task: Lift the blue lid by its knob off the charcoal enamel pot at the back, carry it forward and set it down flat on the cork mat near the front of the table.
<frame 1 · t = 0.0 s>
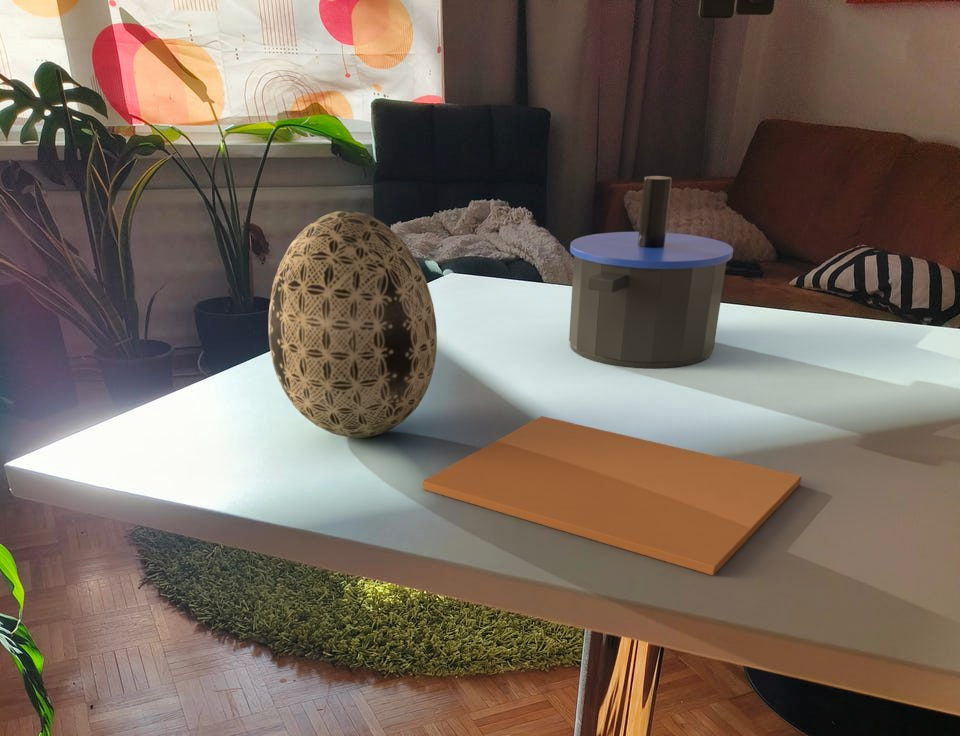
hand: (733, 16, 78), 26 cm above the table, tool pointing down, fingers open, 9 cm apart
blue lid: (650, 252, 81), point 8 cm above the table, touching pot
decorative egg: (360, 435, 67), on the table
cork mat: (612, 486, 58), on the table
pot: (640, 347, 86), on the table
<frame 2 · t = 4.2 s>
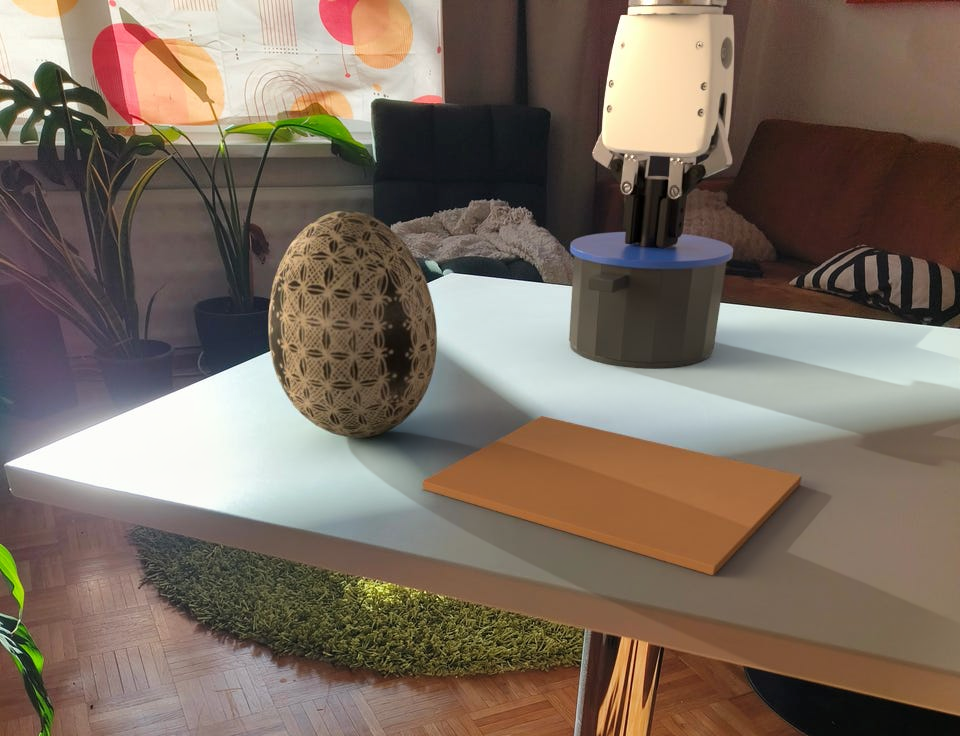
hand: (651, 242, 81), 9 cm above the table, tool pointing down, fingers closed on blue lid, 2 cm apart
blue lid: (650, 252, 81), point 9 cm above the table, touching gripper, pot
everything else where it was.
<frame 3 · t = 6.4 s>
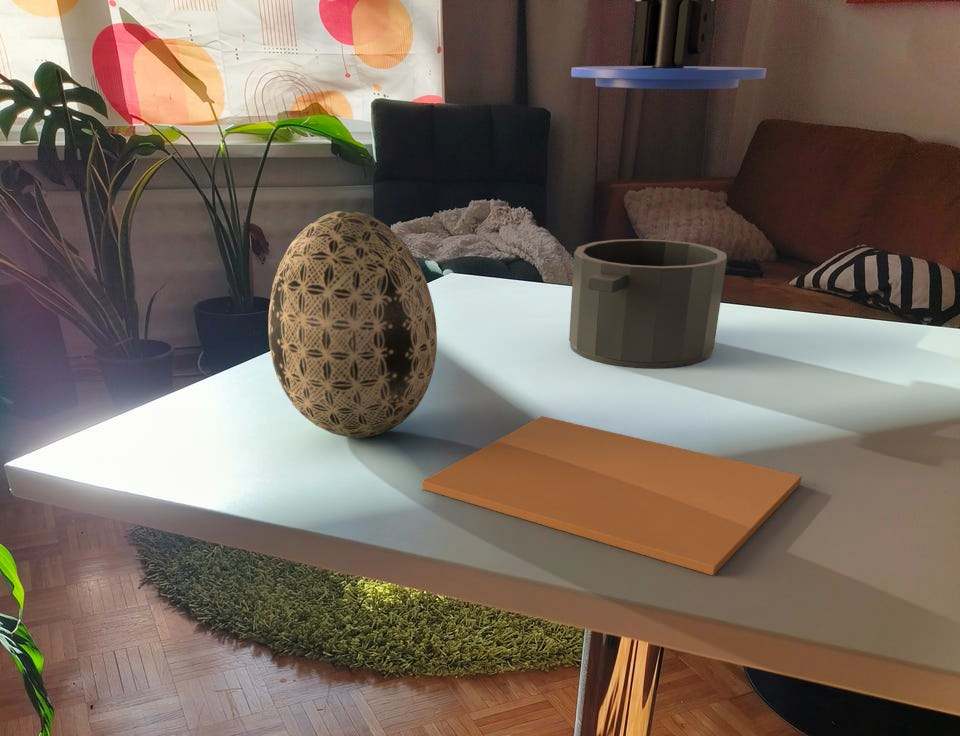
hand: (668, 63, 68), 23 cm above the table, tool pointing down, fingers closed on blue lid, 2 cm apart
blue lid: (666, 77, 68), point 22 cm above the table, touching gripper
everything else where it was.
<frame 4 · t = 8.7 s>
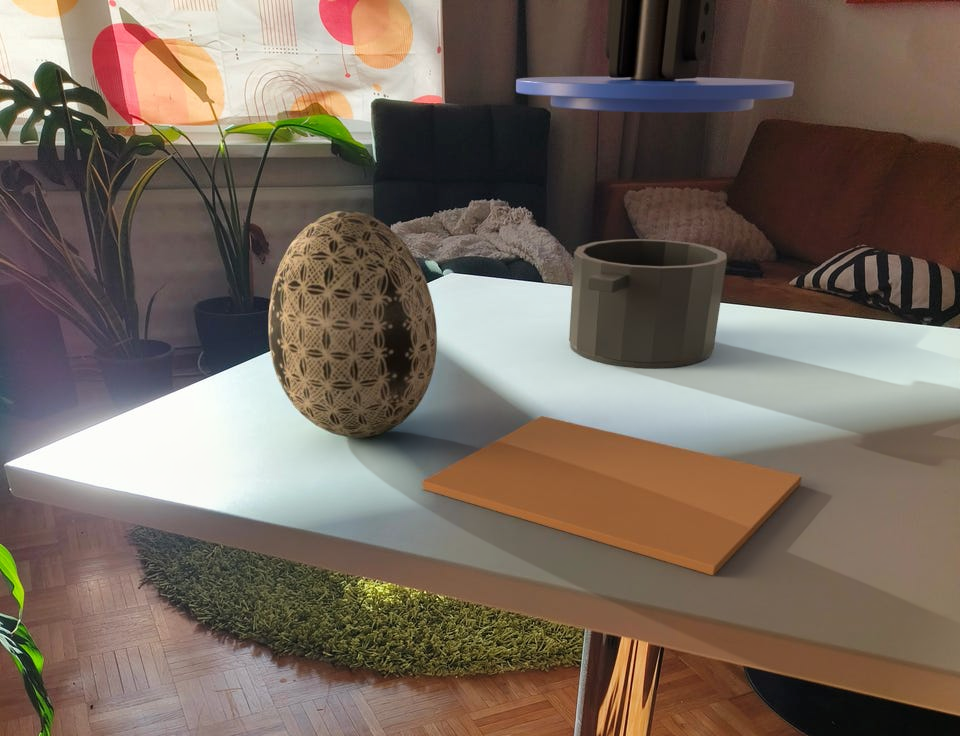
hand: (653, 74, 47), 23 cm above the table, tool pointing down, fingers closed on blue lid, 2 cm apart
blue lid: (651, 93, 48), point 22 cm above the table, touching gripper
everything else where it was.
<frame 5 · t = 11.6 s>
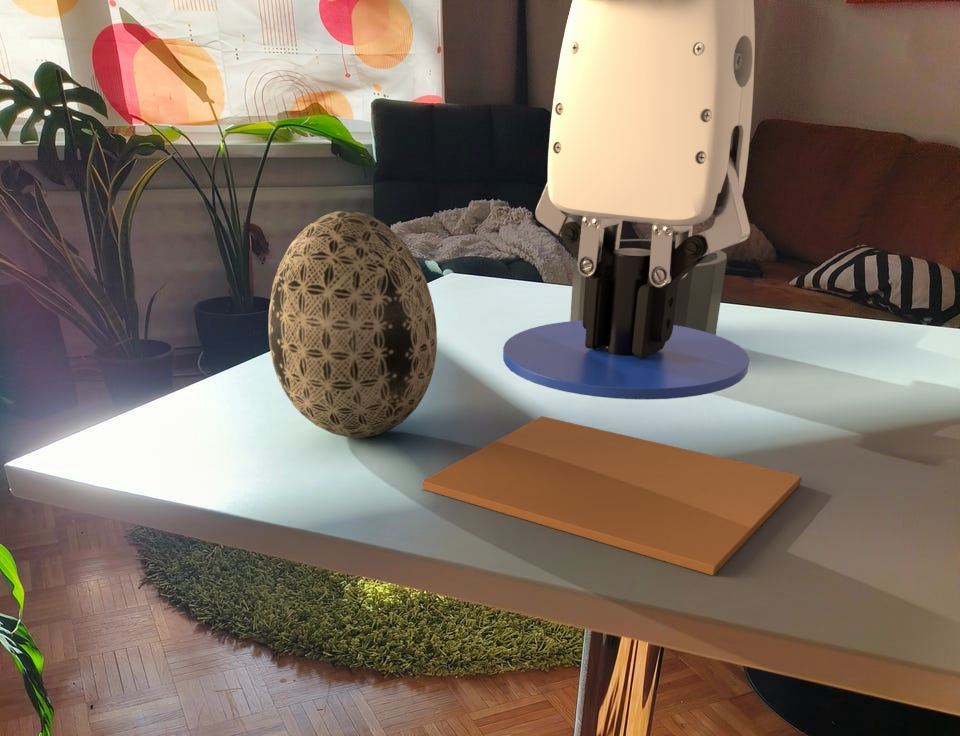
hand: (625, 345, 53), 9 cm above the table, tool pointing down, fingers closed on blue lid, 2 cm apart
blue lid: (623, 360, 54), point 8 cm above the table, touching gripper
everything else where it was.
when the fingers open (2 cm above the table, at t = 13.4 s): blue lid stays where it is, resting on cork mat.
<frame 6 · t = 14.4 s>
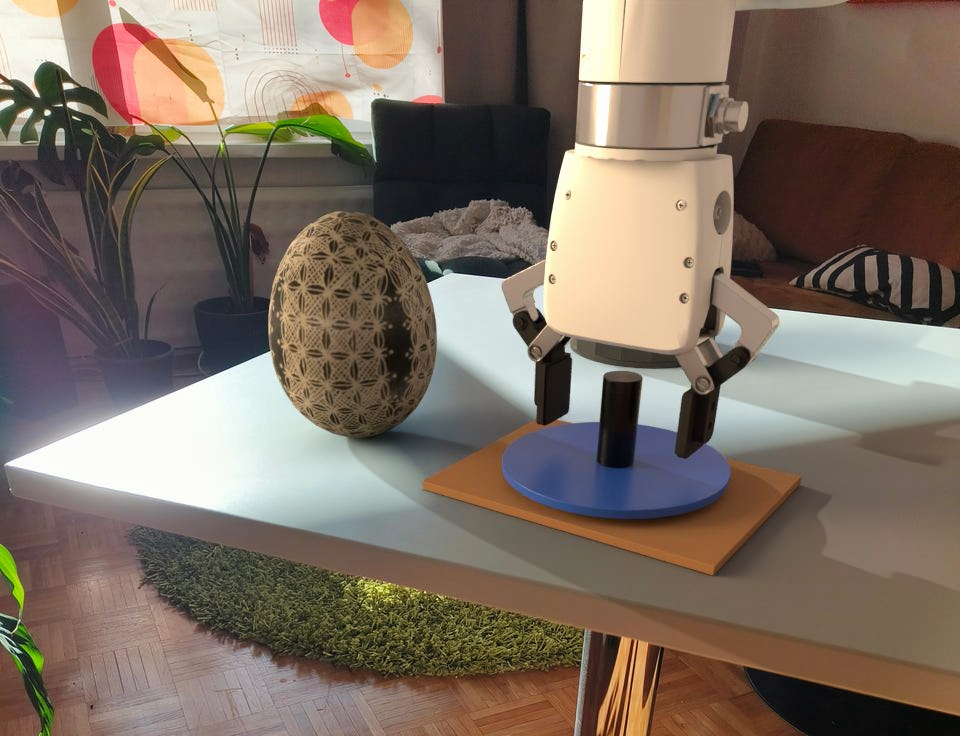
hand: (618, 434, 56), 4 cm above the table, tool pointing down, fingers open, 9 cm apart
blue lid: (614, 469, 58), point 1 cm above the table, touching cork mat
everything else where it was.
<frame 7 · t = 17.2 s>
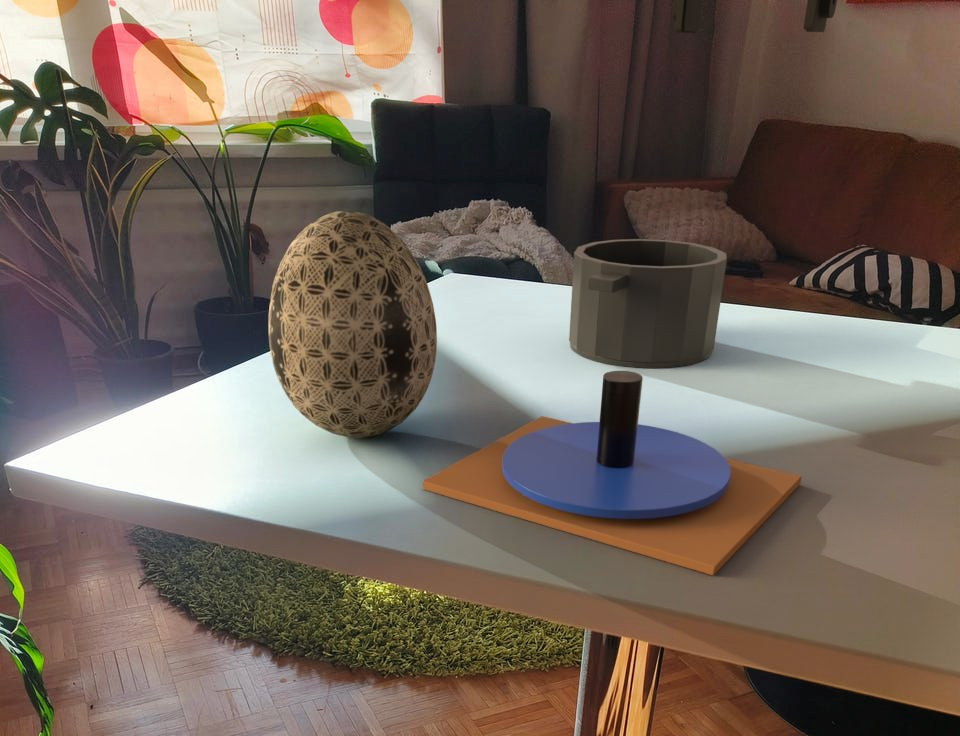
hand: (748, 32, 66), 25 cm above the table, tool pointing down, fingers open, 9 cm apart
nothing on the table moved.
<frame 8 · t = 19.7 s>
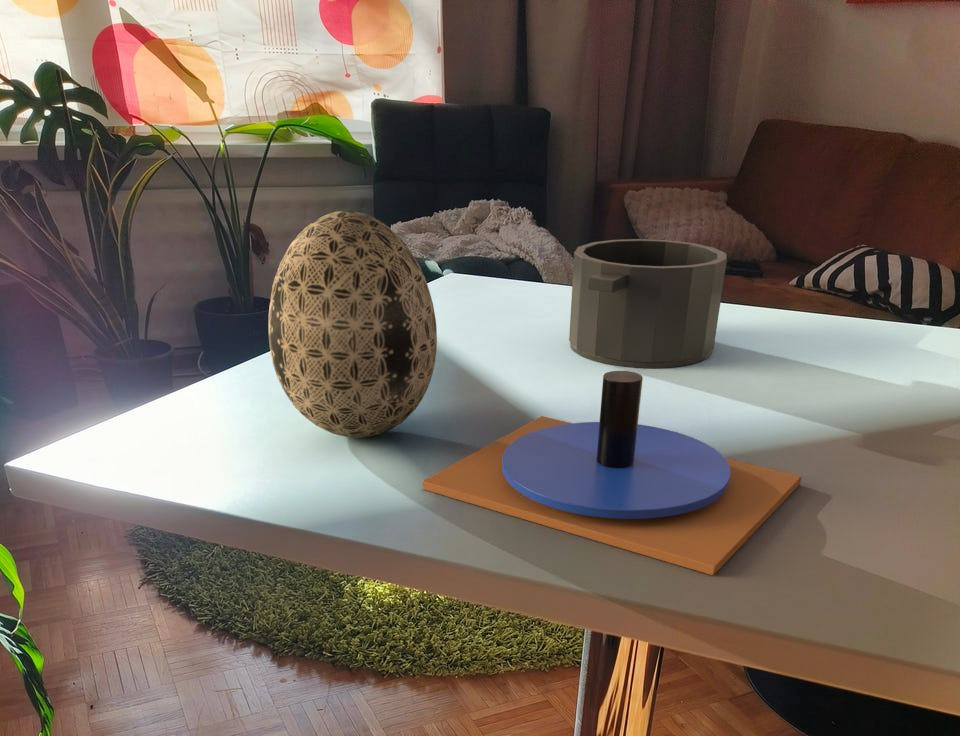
nothing on the table moved.
at the end: blue lid inside the target area on the cork mat (0.0 cm from its centre), point 1.2 cm above the cork mat's base; blue lid tilted 0°; the gripper is holding nothing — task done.
